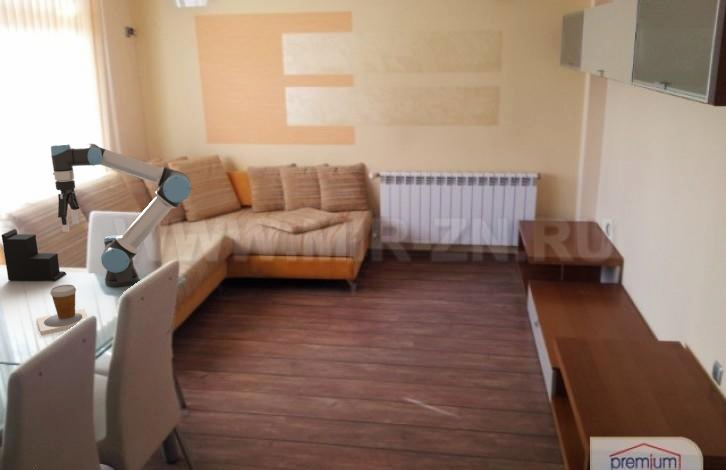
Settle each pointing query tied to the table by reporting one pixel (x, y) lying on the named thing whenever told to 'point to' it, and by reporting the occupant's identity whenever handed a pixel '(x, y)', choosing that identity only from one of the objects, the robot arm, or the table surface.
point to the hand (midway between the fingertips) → (71, 227)
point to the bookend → (28, 259)
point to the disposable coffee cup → (64, 300)
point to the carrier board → (59, 322)
